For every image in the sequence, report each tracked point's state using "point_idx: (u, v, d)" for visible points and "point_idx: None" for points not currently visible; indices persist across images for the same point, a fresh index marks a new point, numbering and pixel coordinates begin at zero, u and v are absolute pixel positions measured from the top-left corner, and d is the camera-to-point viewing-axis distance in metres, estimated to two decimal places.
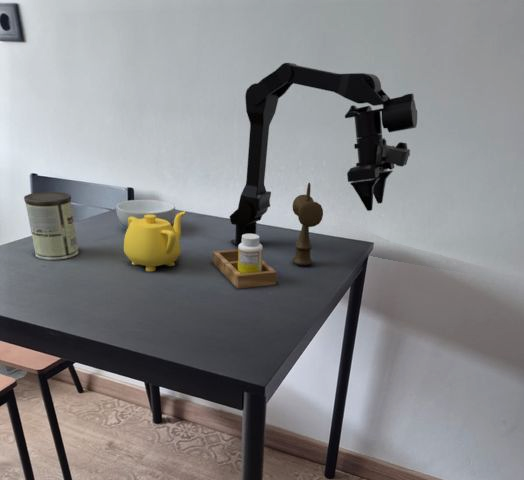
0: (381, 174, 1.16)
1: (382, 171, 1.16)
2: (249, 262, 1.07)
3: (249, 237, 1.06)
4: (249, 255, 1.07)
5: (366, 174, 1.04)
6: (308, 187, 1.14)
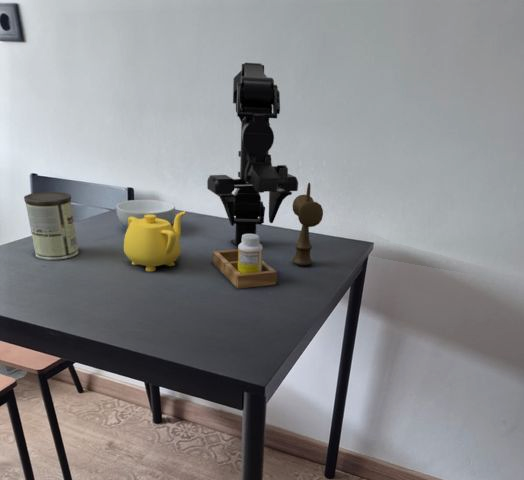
0: (276, 193, 1.04)
1: (278, 190, 1.04)
2: (249, 262, 1.07)
3: (249, 237, 1.06)
4: (249, 255, 1.07)
5: (213, 187, 0.97)
6: (308, 187, 1.14)
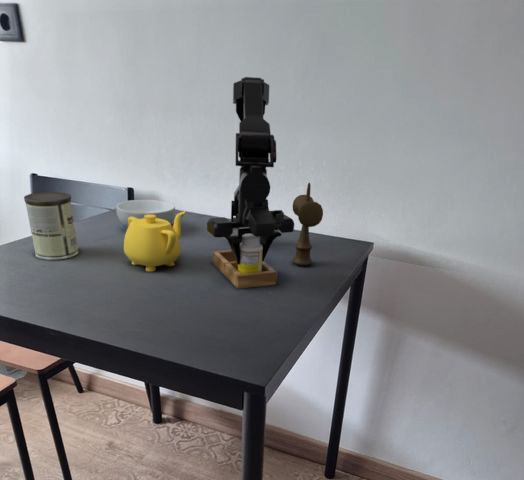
0: None
1: None
2: (249, 262, 1.07)
3: (249, 237, 1.06)
4: (249, 255, 1.07)
5: (212, 230, 1.02)
6: (308, 187, 1.14)
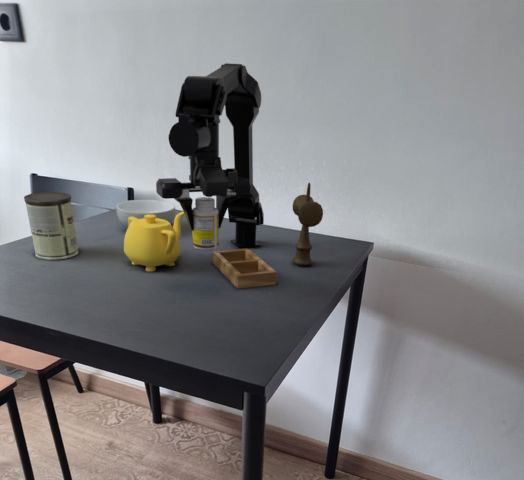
0: (221, 197, 1.00)
1: None
2: (203, 227, 1.00)
3: (202, 200, 0.98)
4: (203, 220, 0.99)
5: (160, 191, 0.94)
6: (308, 187, 1.14)
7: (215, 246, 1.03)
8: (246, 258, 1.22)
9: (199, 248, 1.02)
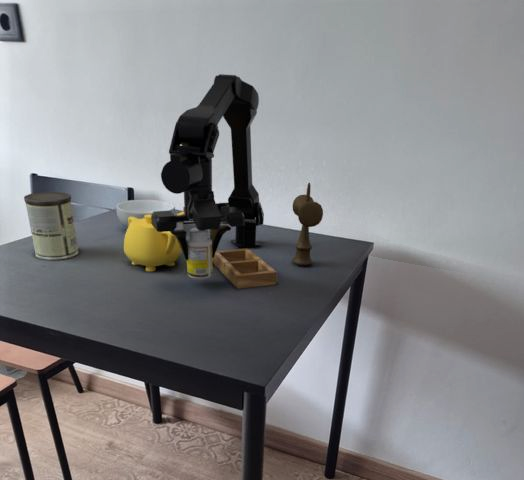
0: None
1: None
2: (197, 258, 1.02)
3: (196, 231, 1.01)
4: (197, 251, 1.01)
5: (155, 224, 0.97)
6: (308, 187, 1.14)
7: (209, 275, 1.05)
8: (246, 258, 1.22)
9: (193, 277, 1.05)
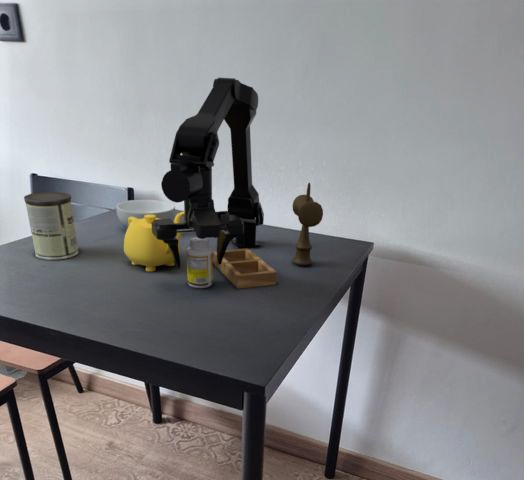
0: (222, 235, 1.04)
1: (224, 232, 1.04)
2: (197, 267, 1.03)
3: (196, 241, 1.02)
4: (197, 260, 1.02)
5: (155, 232, 0.97)
6: (308, 187, 1.14)
7: (209, 284, 1.06)
8: (246, 258, 1.22)
9: (193, 286, 1.06)
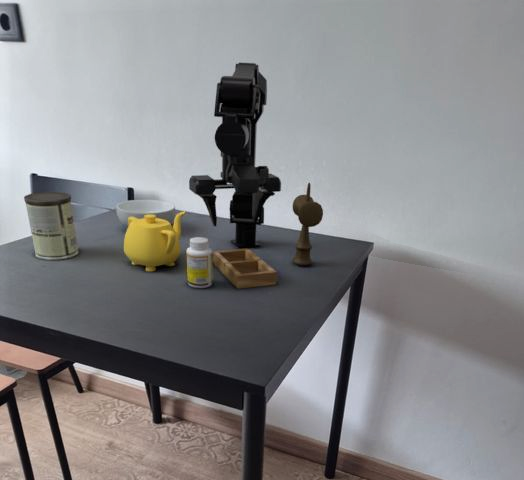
0: (259, 193, 1.03)
1: (261, 190, 1.03)
2: (197, 267, 1.03)
3: (196, 241, 1.02)
4: (197, 260, 1.02)
5: (194, 187, 0.97)
6: (308, 187, 1.14)
7: (209, 284, 1.06)
8: (246, 258, 1.22)
9: (193, 286, 1.06)
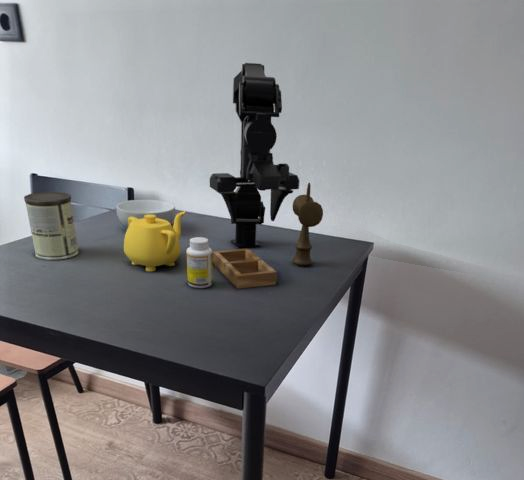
0: (277, 191, 1.05)
1: (280, 188, 1.05)
2: (197, 267, 1.03)
3: (196, 241, 1.02)
4: (197, 260, 1.02)
5: (215, 185, 0.99)
6: (308, 187, 1.14)
7: (209, 284, 1.06)
8: (246, 258, 1.22)
9: (193, 286, 1.06)
